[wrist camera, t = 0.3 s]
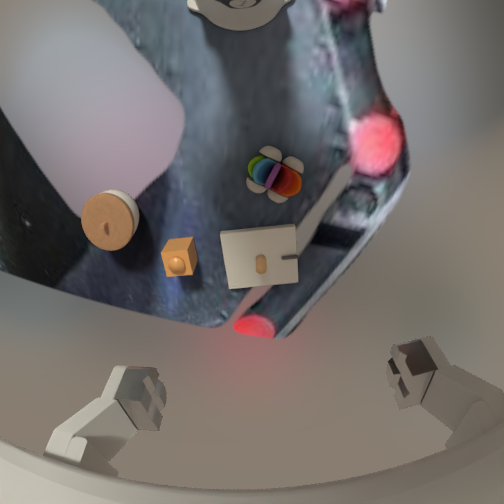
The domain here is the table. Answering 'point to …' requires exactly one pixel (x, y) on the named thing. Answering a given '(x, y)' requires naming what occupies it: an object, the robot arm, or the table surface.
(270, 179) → the rainbow segmented toy
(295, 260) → the plate
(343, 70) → the table surface
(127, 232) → the lidded jar
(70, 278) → the table surface
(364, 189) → the table surface
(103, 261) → the table surface
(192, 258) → the orange cube with dome
